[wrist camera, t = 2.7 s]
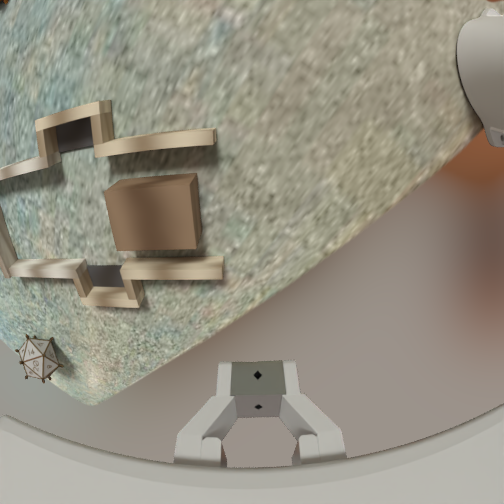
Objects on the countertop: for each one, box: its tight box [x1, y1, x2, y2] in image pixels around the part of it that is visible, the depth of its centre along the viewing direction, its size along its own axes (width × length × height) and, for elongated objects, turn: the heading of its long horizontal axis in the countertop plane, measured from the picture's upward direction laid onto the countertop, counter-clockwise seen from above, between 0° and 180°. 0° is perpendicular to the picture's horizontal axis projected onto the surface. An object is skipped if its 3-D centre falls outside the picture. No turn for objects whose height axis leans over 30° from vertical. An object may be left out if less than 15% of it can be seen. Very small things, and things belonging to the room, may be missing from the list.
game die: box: [15, 334, 64, 383], centre depth 35 cm, size 9×8×10 cm
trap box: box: [0, 100, 224, 308], centre depth 26 cm, size 31×22×3 cm
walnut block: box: [104, 173, 202, 251], centre depth 26 cm, size 8×6×4 cm
